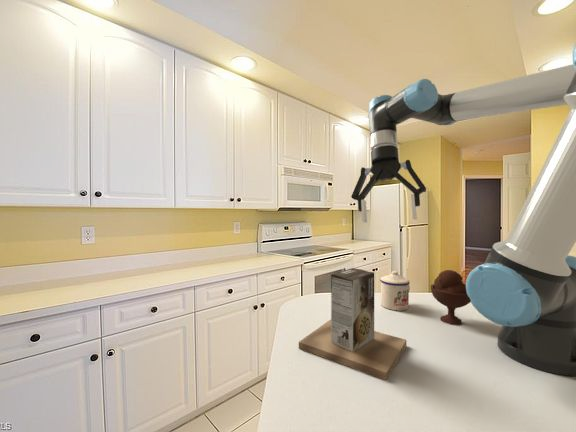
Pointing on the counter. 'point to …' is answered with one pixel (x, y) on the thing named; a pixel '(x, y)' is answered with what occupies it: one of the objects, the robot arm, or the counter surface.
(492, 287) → the robot arm
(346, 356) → the walnut board
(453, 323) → the ice cream bowl
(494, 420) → the counter surface
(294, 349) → the counter surface
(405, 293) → the teacup with lid
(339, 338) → the coffee box
